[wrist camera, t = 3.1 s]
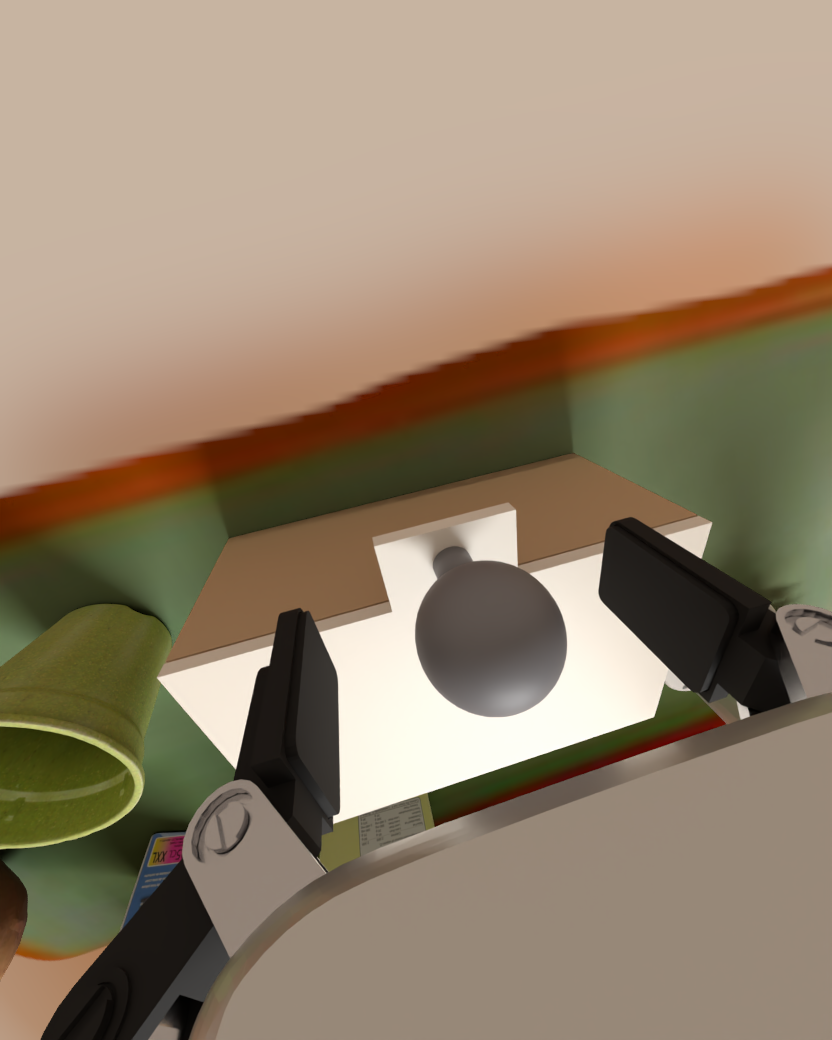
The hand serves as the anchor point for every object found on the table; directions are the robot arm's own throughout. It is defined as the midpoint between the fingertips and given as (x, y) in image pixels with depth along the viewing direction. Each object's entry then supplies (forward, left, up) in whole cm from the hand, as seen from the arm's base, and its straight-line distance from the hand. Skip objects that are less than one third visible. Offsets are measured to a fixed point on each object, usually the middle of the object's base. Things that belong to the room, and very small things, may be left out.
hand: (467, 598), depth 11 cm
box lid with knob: (0, +7, -3) cm, 7 cm away
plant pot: (+20, +7, -12) cm, 24 cm away
